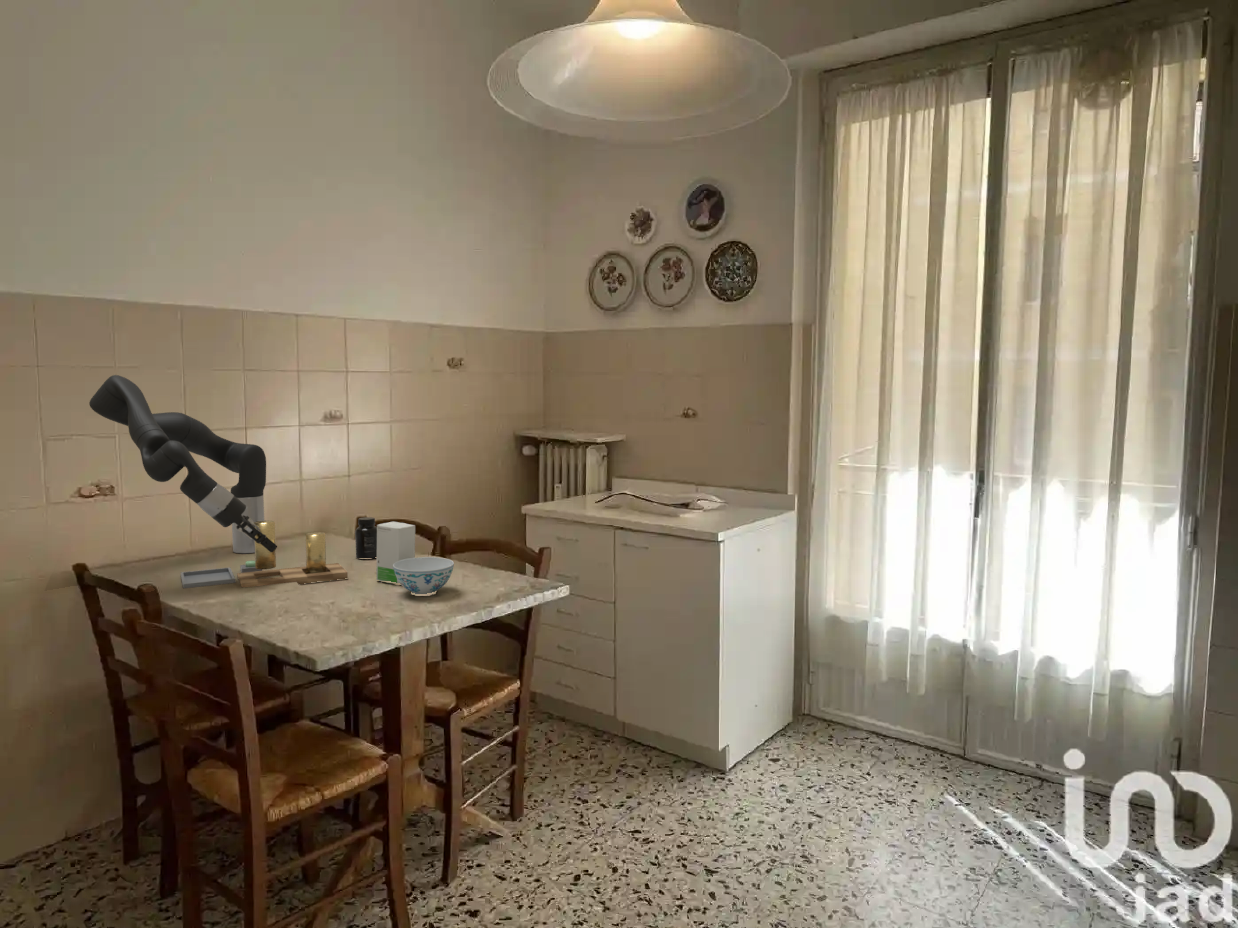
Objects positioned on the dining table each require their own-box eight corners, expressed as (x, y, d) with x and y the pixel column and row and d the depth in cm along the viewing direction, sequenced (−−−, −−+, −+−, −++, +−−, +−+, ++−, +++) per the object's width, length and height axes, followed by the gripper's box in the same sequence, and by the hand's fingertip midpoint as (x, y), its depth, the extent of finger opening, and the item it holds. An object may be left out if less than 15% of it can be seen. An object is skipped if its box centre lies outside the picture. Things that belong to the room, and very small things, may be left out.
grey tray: (180, 579, 219) (180, 572, 218) (230, 574, 225) (230, 567, 225) (183, 591, 207) (183, 584, 206) (235, 586, 213) (235, 578, 213)
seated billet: (304, 576, 224) (303, 533, 222) (323, 574, 226) (323, 531, 225) (308, 580, 219) (307, 536, 218) (327, 578, 222) (327, 534, 221)
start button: (245, 565, 225) (244, 561, 225) (256, 564, 226) (255, 560, 226) (246, 567, 223) (246, 563, 222) (257, 566, 224) (257, 562, 224)
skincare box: (375, 582, 219) (374, 524, 217) (393, 576, 225) (392, 520, 223) (399, 586, 215) (398, 527, 213) (416, 580, 221) (416, 523, 219)
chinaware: (383, 591, 209) (383, 562, 209) (436, 582, 219) (436, 554, 218) (410, 604, 198) (409, 573, 197) (465, 594, 208) (464, 564, 207)
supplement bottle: (383, 555, 250) (382, 516, 249) (374, 560, 244) (373, 520, 242) (361, 554, 251) (360, 516, 250) (351, 559, 244) (351, 520, 243)
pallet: (237, 580, 218) (237, 573, 218) (338, 569, 231) (338, 562, 231) (242, 591, 208) (242, 583, 208) (347, 579, 221) (347, 572, 221)
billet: (254, 566, 217) (253, 521, 215) (274, 564, 219) (273, 520, 218) (256, 570, 212) (255, 524, 211) (277, 568, 215) (276, 523, 214)
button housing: (240, 573, 226) (240, 565, 225) (260, 571, 228) (259, 563, 228) (242, 577, 221) (242, 568, 221) (262, 575, 224) (262, 566, 224)
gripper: (208, 511, 214) (259, 552, 221) (212, 520, 202) (266, 563, 209) (230, 490, 216) (279, 532, 223) (235, 498, 204) (287, 541, 211)
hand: (272, 547), depth 216 cm, fingers closed on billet, 5 cm apart
